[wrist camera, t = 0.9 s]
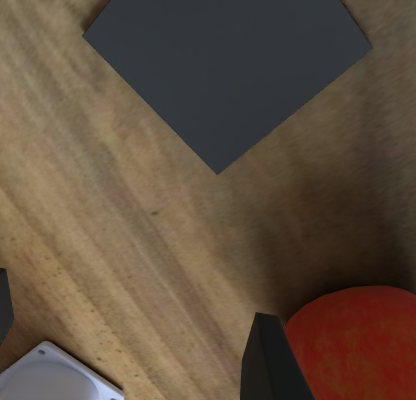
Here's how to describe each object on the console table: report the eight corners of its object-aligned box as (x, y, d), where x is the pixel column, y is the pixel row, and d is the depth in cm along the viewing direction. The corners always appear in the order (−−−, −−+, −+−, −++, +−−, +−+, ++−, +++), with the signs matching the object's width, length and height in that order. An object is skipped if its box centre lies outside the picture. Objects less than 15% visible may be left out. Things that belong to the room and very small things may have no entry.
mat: (217, 172, 19) (217, 175, 18) (84, 35, 16) (81, 36, 16) (370, 47, 15) (373, 48, 15) (233, -153, 13) (233, -157, 12)
